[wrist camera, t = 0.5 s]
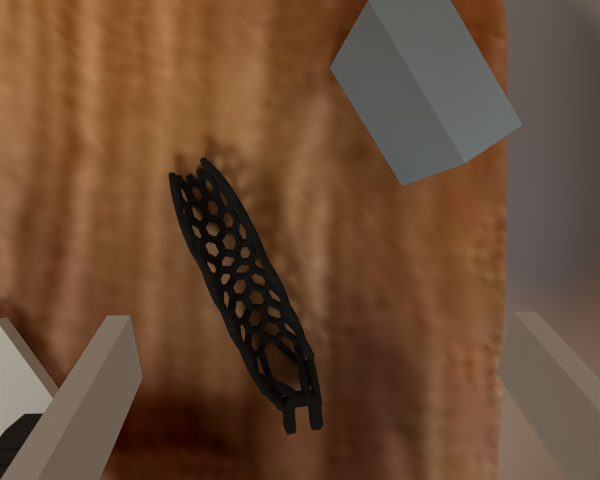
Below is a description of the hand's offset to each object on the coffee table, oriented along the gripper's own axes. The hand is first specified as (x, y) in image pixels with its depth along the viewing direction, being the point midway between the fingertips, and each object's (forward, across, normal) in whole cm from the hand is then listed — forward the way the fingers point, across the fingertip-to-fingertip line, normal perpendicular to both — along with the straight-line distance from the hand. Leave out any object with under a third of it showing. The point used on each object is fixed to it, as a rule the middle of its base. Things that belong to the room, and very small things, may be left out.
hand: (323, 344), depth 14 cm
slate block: (+26, -8, -4) cm, 28 cm away
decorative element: (+18, +4, +9) cm, 21 cm away
